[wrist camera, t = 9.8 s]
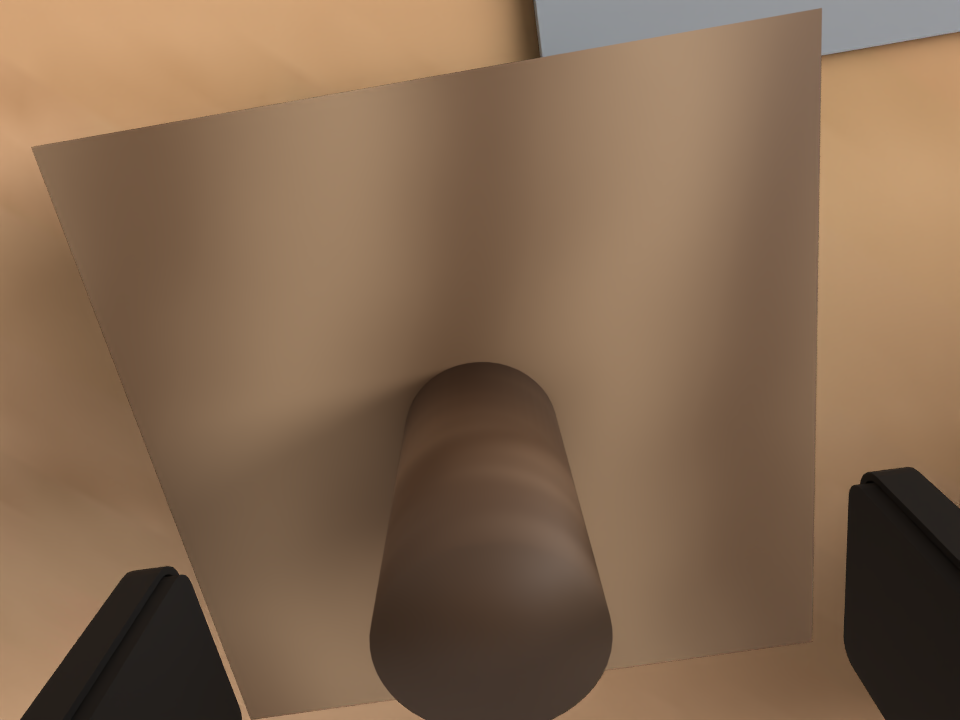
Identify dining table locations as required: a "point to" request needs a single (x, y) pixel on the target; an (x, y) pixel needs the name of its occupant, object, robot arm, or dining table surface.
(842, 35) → the mat
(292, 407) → the lid
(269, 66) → the dining table surface
